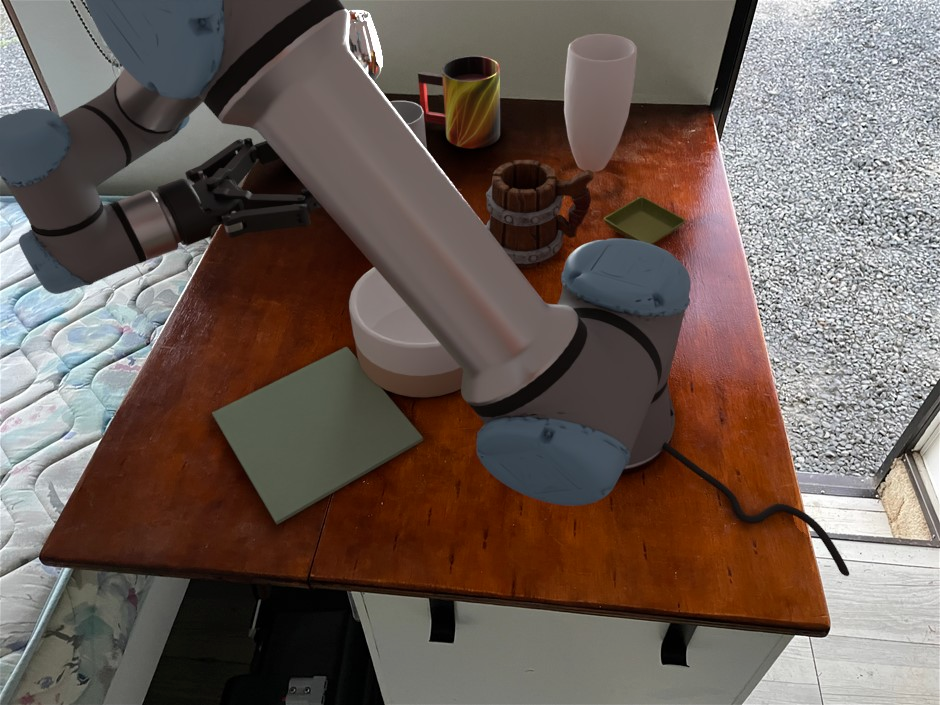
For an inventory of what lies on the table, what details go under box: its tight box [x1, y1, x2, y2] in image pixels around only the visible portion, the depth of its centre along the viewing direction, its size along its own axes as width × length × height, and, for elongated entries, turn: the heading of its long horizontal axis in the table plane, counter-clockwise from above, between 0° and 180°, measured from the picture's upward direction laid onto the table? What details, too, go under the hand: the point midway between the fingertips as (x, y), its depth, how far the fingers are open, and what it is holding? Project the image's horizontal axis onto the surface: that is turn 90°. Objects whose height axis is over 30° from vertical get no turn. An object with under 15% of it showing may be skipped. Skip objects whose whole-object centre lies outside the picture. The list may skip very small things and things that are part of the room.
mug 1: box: [417, 55, 501, 149], centre depth 122 cm, size 10×14×12 cm
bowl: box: [348, 266, 463, 398], centre depth 87 cm, size 17×17×8 cm
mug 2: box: [484, 159, 594, 270], centre depth 99 cm, size 12×14×15 cm
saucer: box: [603, 196, 687, 245], centre depth 104 cm, size 9×9×2 cm
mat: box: [211, 346, 424, 526], centre depth 81 cm, size 18×18×1 cm
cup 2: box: [563, 33, 638, 173], centre depth 107 cm, size 10×10×22 cm
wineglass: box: [347, 9, 384, 82], centre depth 122 cm, size 8×8×20 cm
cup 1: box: [389, 100, 428, 151], centre depth 116 cm, size 8×8×10 cm
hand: (325, 159), depth 93 cm, fingers open, 13 cm apart
